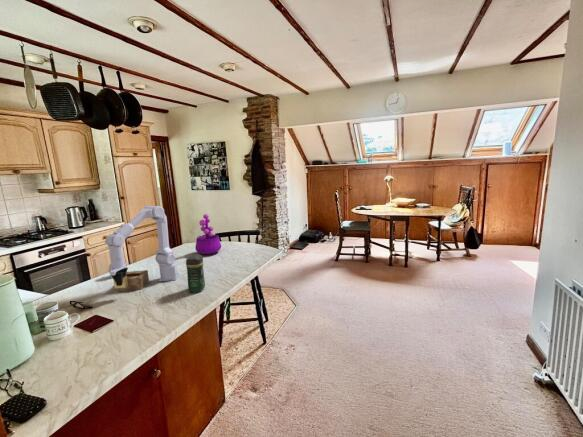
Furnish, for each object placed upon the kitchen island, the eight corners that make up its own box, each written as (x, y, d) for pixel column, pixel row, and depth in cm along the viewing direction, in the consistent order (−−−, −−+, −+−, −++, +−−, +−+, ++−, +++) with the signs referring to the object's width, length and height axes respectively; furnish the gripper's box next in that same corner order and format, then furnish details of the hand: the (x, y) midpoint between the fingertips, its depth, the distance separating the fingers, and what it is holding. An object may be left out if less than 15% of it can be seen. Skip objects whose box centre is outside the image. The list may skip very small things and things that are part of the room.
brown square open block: (148, 280, 168) (147, 270, 167) (141, 289, 156) (140, 277, 155) (126, 282, 166) (125, 271, 165) (117, 291, 154) (116, 279, 153)
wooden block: (127, 285, 147) (126, 275, 146) (125, 287, 144) (124, 278, 143) (117, 286, 146) (115, 276, 146) (114, 288, 144) (113, 278, 143)
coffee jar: (202, 292, 149) (199, 258, 146) (186, 293, 149) (183, 259, 145) (206, 285, 159) (204, 252, 155) (192, 286, 158) (189, 253, 155)
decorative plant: (207, 258, 207) (204, 216, 201) (190, 254, 217) (186, 215, 211) (226, 251, 222) (223, 212, 217) (210, 248, 232) (207, 211, 227)
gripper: (114, 254, 149) (118, 279, 152) (101, 263, 135) (105, 290, 137) (129, 253, 150) (132, 278, 153) (117, 262, 136) (121, 289, 138)
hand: (121, 284), depth 145 cm, fingers closed on wooden block, 3 cm apart
